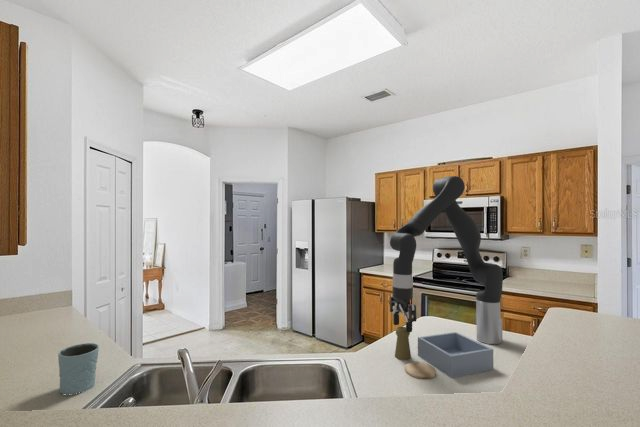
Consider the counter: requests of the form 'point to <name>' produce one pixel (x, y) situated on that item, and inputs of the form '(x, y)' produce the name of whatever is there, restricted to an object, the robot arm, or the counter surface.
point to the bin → (455, 354)
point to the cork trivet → (420, 370)
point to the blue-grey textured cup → (77, 368)
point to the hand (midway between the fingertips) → (402, 328)
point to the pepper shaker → (402, 344)
